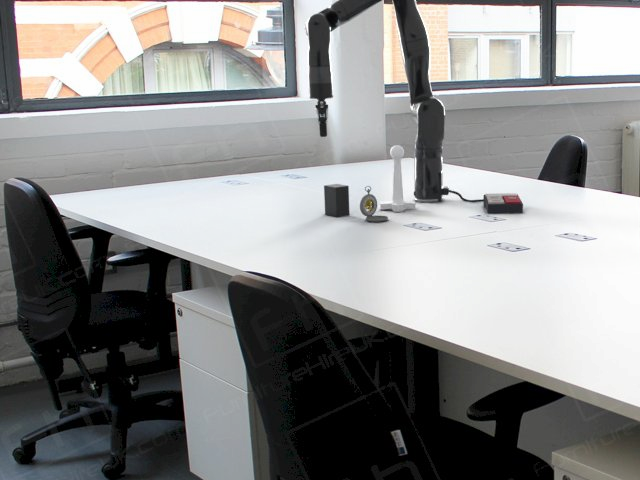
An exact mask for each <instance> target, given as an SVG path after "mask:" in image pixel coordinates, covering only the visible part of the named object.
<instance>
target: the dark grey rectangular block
mask: <svg viewBox="0 0 640 480" xmlns="http://www.w3.org/2000/svg"><path fill="white" fill-rule="evenodd" d="M323 197H324V215H325V216H330V217H334V218H338V217H345V216H346V217H347V216H350V188H349V185H346V184H342V183H341V184H340V183H333V184H324V185H323Z"/></svg>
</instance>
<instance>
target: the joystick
mask: <svg viewBox="0 0 640 480" xmlns="http://www.w3.org/2000/svg"><path fill="white" fill-rule="evenodd" d="M389 154H390V157H391V158H392V160H393V167H392V168H393V172H392V195H391V196H392V197H391V198H392V199H391V201H380V208H379V209H380V210H381V211H382V210H391V211H393V212H394V213H402V212H404V211H405V210H416V208H417V206H416V204H417V203H416V201H415V200H410V201H409V200H407V201H406V200H404V190H403V173H402V159H403V157H404V156H405V150H404V148H403V147H402V145H399V144H394V145H393V146H391V148H390V150H389Z"/></svg>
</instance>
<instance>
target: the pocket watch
mask: <svg viewBox="0 0 640 480" xmlns="http://www.w3.org/2000/svg"><path fill="white" fill-rule="evenodd" d="M364 191H365V192H367V194H364V196H362V198H361V200H360V203H359V210H360V213H361V214H362V215H363V216H365V220H366V221H368V222H373V223H380V222H385V221H388V219H389V217H388V216H386V215H375V214H376V212H377V209H378V200H377V198H376V196H375V195H373V194H371V191H372V187H371V186H370V185H366V186H365V187H364Z"/></svg>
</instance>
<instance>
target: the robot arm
mask: <svg viewBox="0 0 640 480" xmlns="http://www.w3.org/2000/svg"><path fill="white" fill-rule="evenodd" d="M382 1H383V0H335V1H334V2H333V3H331V4H330V5H329V6H328V7H326V8H324V9H322V10H320V11H318V12H316V13H313V14H312V15H310V16H309V17H308V18H307V19H306V21H305V23H304V33H305V34H306V36H307V37H308V49H307V67H308V68H307V84H308V98H309V99H310V100H317V102H316V104H315V112H316V119H317V120H318V121H317V122H318V126H319V137H320V138H326V137H328V127H327V124H328V119H329V104H327V101H326V100H328V99H333V98H334V82H333V81H334V80H333V70H332V61H331V33H332V32H333V31H334V30H336V29H337V28H339V27H341V26H343V25H345V24H347V23H348V22H350V21H353V20H354V19H356V18H358V17H359V16H361V15H362V14H363V13H364V12H366V11H368V10H370V9H371V8H373V7H375V6H376V5H377V4H379V3H381V2H382ZM391 1H392V5H393V9H394V15H395V23H396V29H397V35H398V41H399V47H400V53H401V57H402V62H403V66H404V72H405V76H406V81H407V86H408V95H409V106H410V114H411V117H412V119H413V121H414V122H415V123H416V124H417V133H416V136H415V138H414V140H413V149H414V150H413V164H414V165H413V167H414V173H413V174H414V176H413V179H414V180H413V182H414V191H413V197H414V198H413V201H415V202H418V203H438V202H439V203H441V202H443V200H444V196H449V195H450V193H451V194H453V195H454V194H455V195H456V196H458V197H459V198H460V200H462V201H464V202H467V203H484V198H481V199H467V198H464V197H463V195H462V194H461V193H459V192H458V191H455V190H451V189H450V186H448V185H447V186H446V185H445V186H444V170H443V143H444V139H445V132H446V131H445V127H446V111H445V106H444V104H443V103H442V101H441V100H439V99H438V98H436V97H434V95H433V90H432V86H431V81H430V70H431V57H432V56H431V55H432V53H431V45H430V40H429V34H428V31H427V27H426V25H425V23H424V19H423V18H422V15H421V13H420V10H419V8H418V6H417V1H416V0H391Z"/></svg>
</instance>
